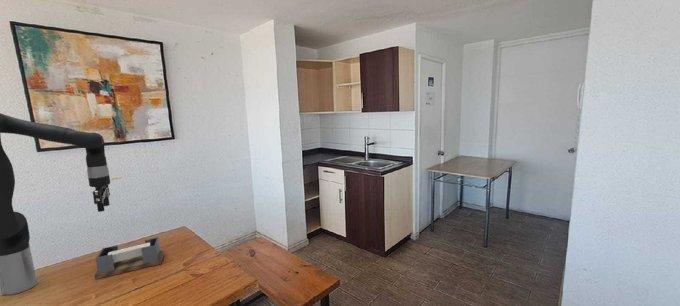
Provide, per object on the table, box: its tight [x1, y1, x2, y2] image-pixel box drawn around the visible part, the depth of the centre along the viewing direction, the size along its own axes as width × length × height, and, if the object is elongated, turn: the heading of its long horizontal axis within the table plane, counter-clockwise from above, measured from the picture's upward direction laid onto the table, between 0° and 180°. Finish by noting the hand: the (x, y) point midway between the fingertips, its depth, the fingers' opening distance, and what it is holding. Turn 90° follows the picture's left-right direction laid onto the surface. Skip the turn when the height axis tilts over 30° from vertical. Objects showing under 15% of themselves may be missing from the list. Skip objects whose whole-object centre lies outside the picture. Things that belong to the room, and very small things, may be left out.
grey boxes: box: [95, 236, 162, 274], centre depth 131 cm, size 23×11×8 cm, turn 118°
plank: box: [94, 249, 165, 280], centre depth 132 cm, size 25×11×2 cm, turn 118°
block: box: [108, 242, 150, 263], centre depth 131 cm, size 16×4×4 cm, turn 125°
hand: (104, 208), depth 130 cm, fingers open, 8 cm apart
